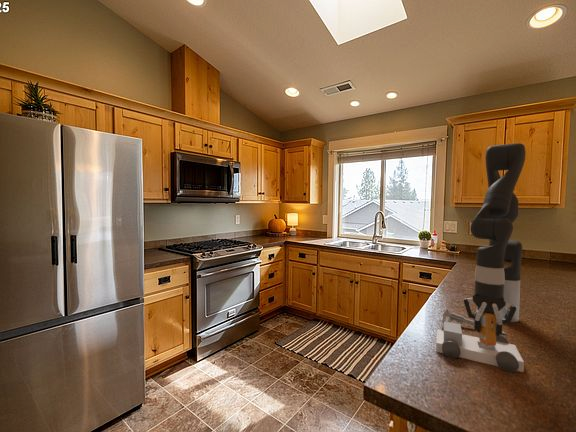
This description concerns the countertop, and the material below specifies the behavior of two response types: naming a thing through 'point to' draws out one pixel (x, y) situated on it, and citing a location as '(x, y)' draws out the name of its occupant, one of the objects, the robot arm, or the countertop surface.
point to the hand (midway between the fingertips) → (487, 332)
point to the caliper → (457, 318)
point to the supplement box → (487, 329)
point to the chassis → (478, 348)
